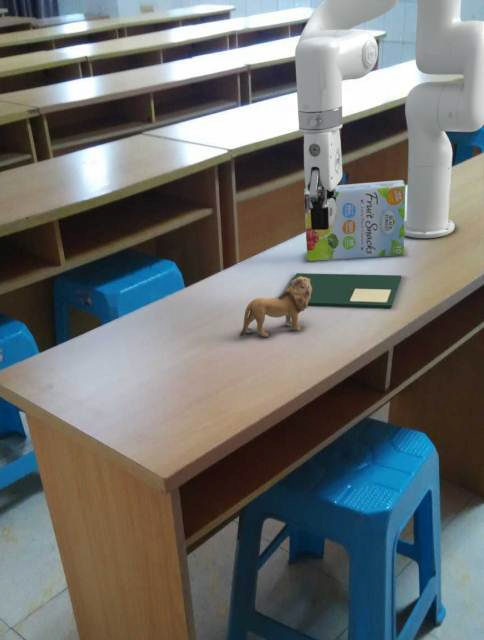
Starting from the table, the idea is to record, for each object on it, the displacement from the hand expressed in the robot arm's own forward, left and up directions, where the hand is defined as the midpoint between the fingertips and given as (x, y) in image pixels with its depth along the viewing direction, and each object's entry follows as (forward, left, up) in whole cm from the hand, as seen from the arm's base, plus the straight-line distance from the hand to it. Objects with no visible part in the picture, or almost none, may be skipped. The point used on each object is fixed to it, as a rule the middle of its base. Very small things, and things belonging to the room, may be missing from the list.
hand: (324, 222), depth 134 cm
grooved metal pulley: (0, 0, -1) cm, 1 cm away
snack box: (-24, +1, -15) cm, 29 cm away
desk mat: (-4, +2, -15) cm, 16 cm away
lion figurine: (+15, -6, -15) cm, 22 cm away
